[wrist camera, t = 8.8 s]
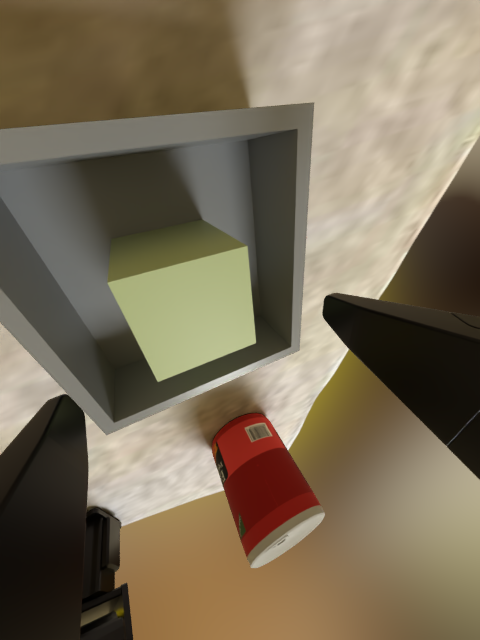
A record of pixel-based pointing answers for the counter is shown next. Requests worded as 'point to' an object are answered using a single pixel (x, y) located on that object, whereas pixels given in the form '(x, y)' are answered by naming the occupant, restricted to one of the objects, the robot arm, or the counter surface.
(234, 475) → the canned food
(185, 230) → the green block
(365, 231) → the counter surface
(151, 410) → the grey bin
